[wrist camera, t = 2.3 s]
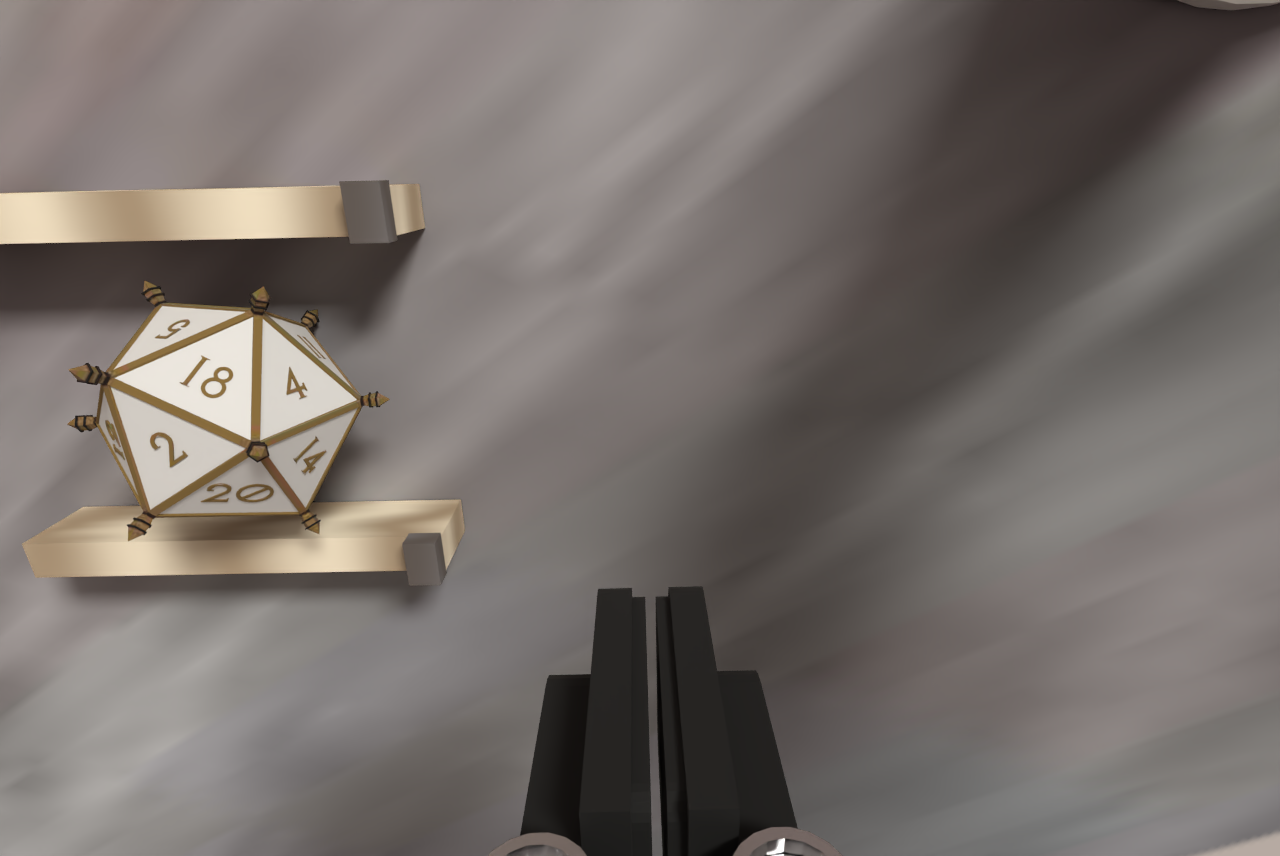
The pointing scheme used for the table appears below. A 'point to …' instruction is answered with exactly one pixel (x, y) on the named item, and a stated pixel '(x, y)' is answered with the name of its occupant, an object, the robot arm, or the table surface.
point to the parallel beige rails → (237, 543)
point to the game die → (223, 412)
